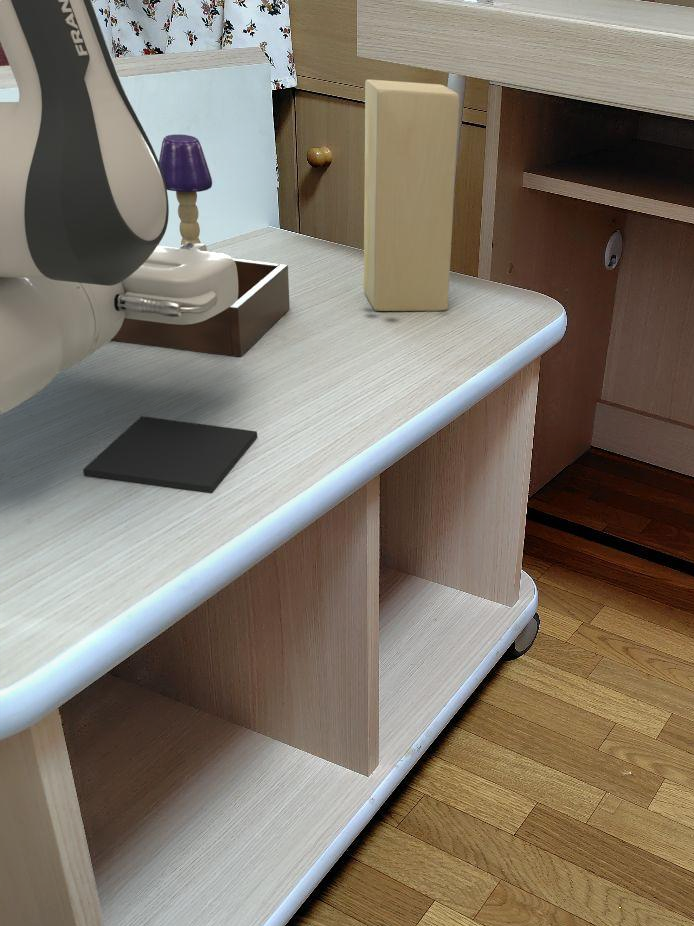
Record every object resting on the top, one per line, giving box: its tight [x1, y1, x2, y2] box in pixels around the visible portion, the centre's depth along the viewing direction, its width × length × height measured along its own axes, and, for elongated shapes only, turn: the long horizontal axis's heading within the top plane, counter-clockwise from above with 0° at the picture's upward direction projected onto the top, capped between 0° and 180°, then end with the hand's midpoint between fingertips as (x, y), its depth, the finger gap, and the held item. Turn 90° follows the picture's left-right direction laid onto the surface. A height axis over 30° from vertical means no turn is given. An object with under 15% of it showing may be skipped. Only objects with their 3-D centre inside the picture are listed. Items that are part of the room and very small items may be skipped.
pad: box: [82, 415, 258, 493], centre depth 71 cm, size 9×9×1 cm
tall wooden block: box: [363, 78, 460, 312], centre depth 100 cm, size 8×7×21 cm
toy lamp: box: [158, 134, 213, 247], centre depth 89 cm, size 5×5×17 cm
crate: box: [110, 257, 291, 358], centre depth 93 cm, size 14×14×4 cm
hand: (142, 245), depth 81 cm, fingers open, 8 cm apart
